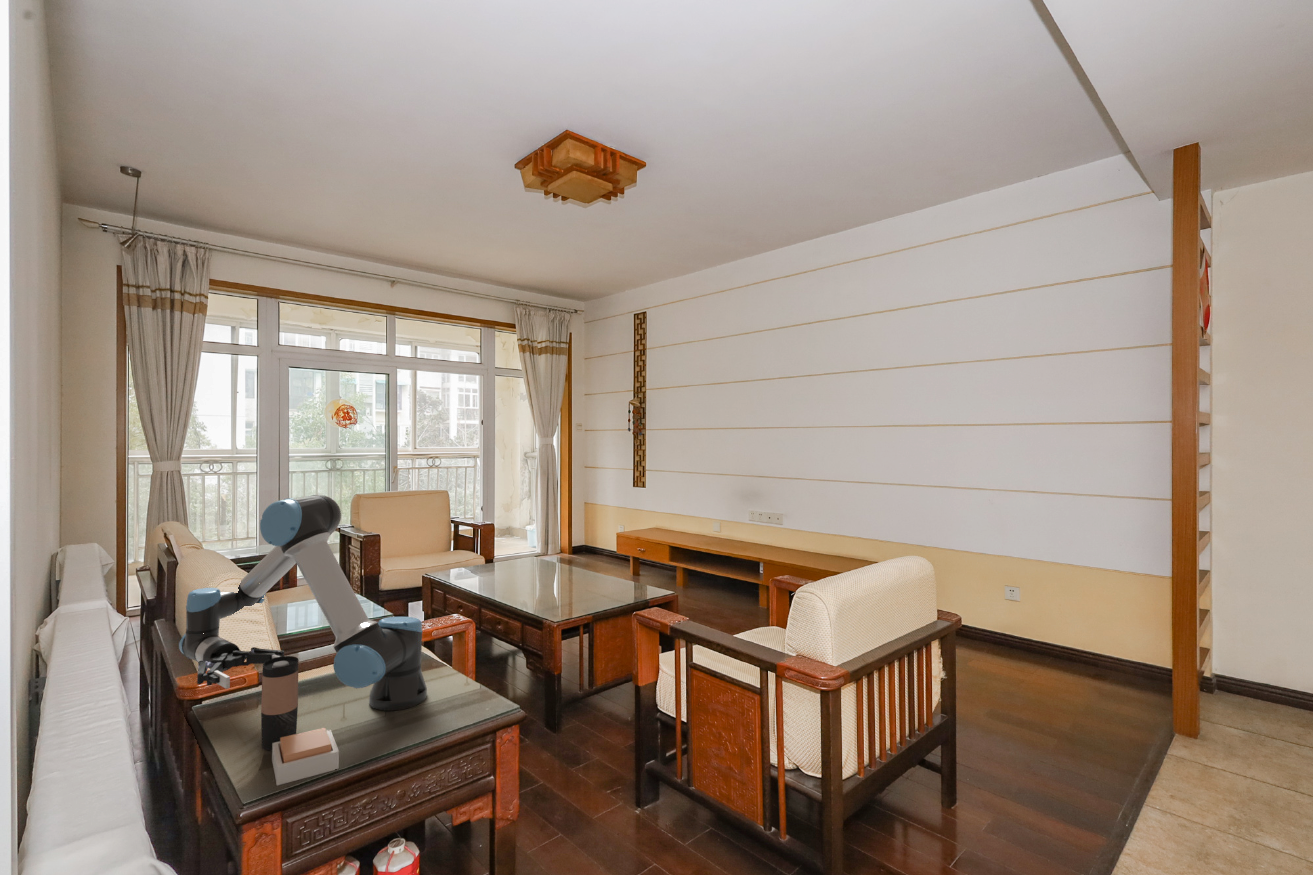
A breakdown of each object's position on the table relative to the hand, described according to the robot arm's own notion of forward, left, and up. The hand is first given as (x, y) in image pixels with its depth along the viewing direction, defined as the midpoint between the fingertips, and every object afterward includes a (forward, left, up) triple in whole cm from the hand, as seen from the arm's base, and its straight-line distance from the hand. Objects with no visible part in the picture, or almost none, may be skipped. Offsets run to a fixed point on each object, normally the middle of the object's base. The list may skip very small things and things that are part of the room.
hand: (258, 673), depth 156 cm
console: (-8, +23, -15) cm, 29 cm away
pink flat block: (-8, +23, -12) cm, 27 cm away
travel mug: (-4, +9, -15) cm, 18 cm away
